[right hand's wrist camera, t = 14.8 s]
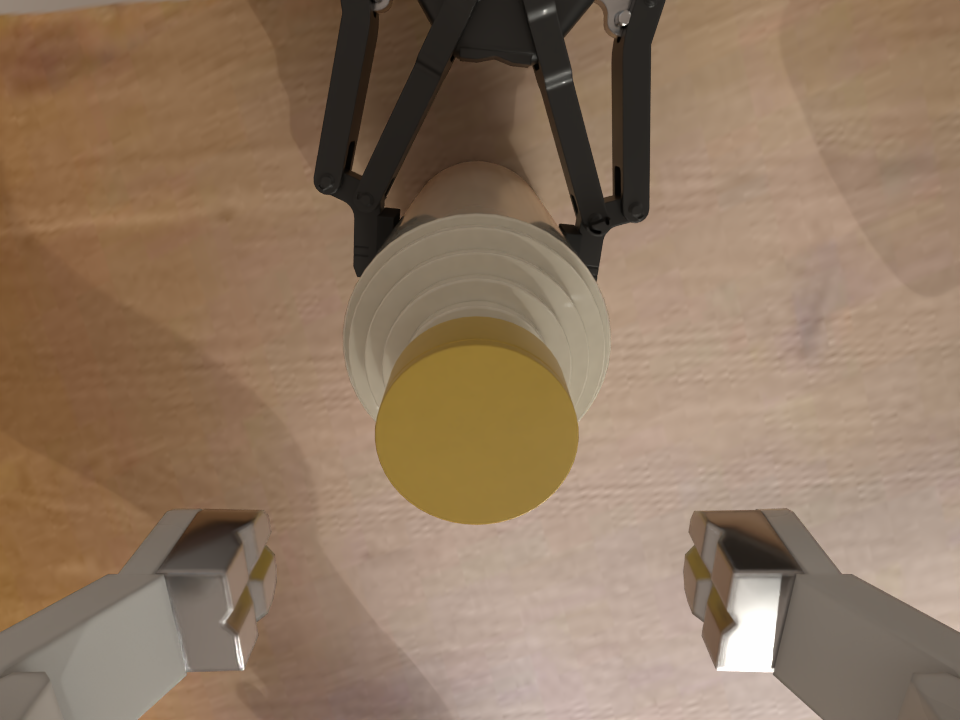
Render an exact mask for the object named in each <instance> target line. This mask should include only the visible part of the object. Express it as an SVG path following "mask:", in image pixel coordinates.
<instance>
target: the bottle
mask: <svg viewBox="0 0 960 720" xmlns="http://www.w3.org/2000/svg"><path fill="white" fill-rule="evenodd" d="M472 316H481V317H492V318H497V319H502V320H505V321H508V322H511V323H514V324H516V325H518V326H520V327H522V328H524V329H526V330H528V331H529V332H531V333H532V334H534V335H535V336H536V337H537V338H539V339H540V340H541V341H542V342H543V343H544V344H545V345H546V346H547V347H548V348H549V349H550V351H551V352H552V354H553V355H554V356H555V358H556V359H557V361H558V363H559V365H560V367H561V369H562V372H563V375H564V378H565V381H566V384H567V387H568V390H569V394H570V397H571V400H572V403H573V406H574V409H575V412H576V415H577V421H578V422H579V421H580V419H581V418H582V417H583V416H584V414H585V413H586V412H587V411H588V409H589V408H590V406H591V405H592V403H593V401H594V400H595V398H596V396H597V395H598V393H599V390H600V388H601V386H602V383H603V381H604V378H605V375H606V371H607V368H608V364H609V357H610V350H611V329H610V321H609V315H608V311H607V308H606V304H605V301H604V298H603V295H602V293H601V291H600V289H599V286H598V284H597V282H596V281H595V279H594V277H593V276H592V274H591V273H590V271H589V269H588V268H587V266H586V265H585V264H584V262H583V261H582V259H581V258H580V256H579V255H578V254H577V252H576V251H575V249H574V248H573V246H572V245H571V244H570V242H569V241H568V239H567V238H566V236H565V235H564V234H563V232H562V231H561V229H560V228H559V226H558V225H557V224H556V222H555V221H554V219H553V218H552V216H551V215H550V214H549V212H548V211H547V209H546V208H545V206H544V205H543V204H542V202H541V201H540V199H539V198H538V196H537V195H536V194H535V192H534V191H533V189H532V188H531V187H530V186H529V184H528V183H527V182H526V181H525V180H524V179H523V178H521V177H520V176H519V175H518V174H516V173H515V172H513V171H512V170H510V169H508V168H506V167H504V166H501V165H498V164H495V163H490V162H484V161H470V162H464V163H459V164H456V165H453V166H450V167H448V168H446V169H444V170H442V171H441V172H439V173H438V174H436V175H435V176H434V177H433V178H431V179H430V180H429V181H428V182H427V183H426V184H425V186H424V187H423V188H422V189H421V191H420V192H419V194H418V195H417V196H416V198H415V199H414V201H413V202H412V204H411V205H410V206H409V208H408V209H407V211H406V212H405V213H404V215H403V216H402V218H401V219H400V221H399V222H398V223H397V225H396V226H395V228H394V229H393V230H392V232H391V233H390V235H389V236H388V238H387V239H386V240H385V242H384V243H383V245H382V246H381V248H380V249H379V250H378V252H377V253H376V255H375V256H374V257H373V259H372V260H371V262H370V263H369V265H368V266H367V267H366V269H365V270H364V272H363V274H362V275H361V277H360V279H359V280H358V282H357V284H356V285H355V288H354V290H353V292H352V295H351V297H350V300H349V303H348V306H347V310H346V314H345V319H344V327H343V353H344V359H345V365H346V369H347V372H348V376H349V379H350V382H351V384H352V386H353V389H354V391H355V393H356V395H357V397H358V399H359V400H360V402H361V403H362V405H363V407H364V408H365V410H366V411H367V412H368V414H369V415H370V416H371V417H372V418H373V420H374V421H375V422H376V419H377V414H378V411H379V408H380V405H381V401H382V398H383V395H384V392H385V389H386V386H387V383H388V380H389V377H390V374H391V371H392V369H393V367H394V365H395V363H396V361H397V359H398V358H399V356H400V355H401V353H402V352H403V350H404V349H405V348H406V347H407V346H408V345H409V344H410V343H411V342H412V341H413V340H414V339H415V338H416V337H418V336H419V335H420V334H422V333H423V332H425V331H426V330H428V329H429V328H431V327H433V326H436V325H438V324H440V323H443V322H446V321H449V320H452V319H457V318H462V317H472Z"/></svg>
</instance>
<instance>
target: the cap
mask: <svg viewBox="0 0 960 720" xmlns="http://www.w3.org/2000/svg"><path fill="white" fill-rule="evenodd" d="M578 440H579V431H578V421H577V415H576V412H575V409H574V406H573V403H572V400H571V397H570V394H569V390H568V387H567V384H566V381H565V378H564V375H563V372H562V369H561V367H560V365H559V363H558V361H557V359H556V358H555V356H554V355H553V354H552V352H551V351H550V349H549V348H548V347H547V346H546V345H545V344H544V343H543V342H542V341H541V340H540V339H539V338H537V337H536V336H535V335H534V334H532V333H531V332H529V331H528V330H526V329H524V328H522V327H520V326H518V325H516V324H514V323H511V322H508V321H505V320H502V319H497V318H492V317H481V316H472V317H462V318H457V319H452V320H449V321H446V322H443V323H440V324H438V325H436V326H433V327H431V328H429V329H428V330H426V331H425V332H423V333H422V334H420V335H419V336H418V337H416V338H415V339H414V340H413V341H412V342H411V343H410V344H409V345H408V346H407V347H406V348H405V349H404V350H403V352H402V353H401V355H400V356H399V358H398V359H397V361H396V363H395V365H394V367H393V369H392V371H391V374H390V377H389V380H388V383H387V386H386V389H385V392H384V395H383V398H382V401H381V405H380V408H379V411H378V414H377V419H376V426H375V443H376V450H377V454H378V457H379V461H380V464H381V466H382V468H383V470H384V472H385V474H386V476H387V477H388V479H389V480H390V482H391V484H392V485H393V486H394V487H395V488H396V490H397V491H398V492H399V493H400V494H401V495H402V496H403V497H404V498H405V499H406V500H408V501H409V502H410V503H411V504H413V505H414V506H416V507H417V508H419V509H420V510H422V511H424V512H426V513H428V514H430V515H432V516H435V517H437V518H440V519H443V520H447V521H450V522H455V523H461V524H472V525H482V524H493V523H499V522H504V521H507V520H510V519H514V518H516V517H519V516H521V515H524V514H526V513H528V512H530V511H531V510H533V509H535V508H537V507H538V506H539V505H541V504H542V503H543V502H545V501H546V500H547V499H548V498H549V497H550V496H552V495H553V494H554V493H555V492H556V490H557V489H558V488H559V487H560V486H561V484H562V483H563V482H564V480H565V478H566V477H567V475H568V473H569V472H570V469H571V467H572V465H573V463H574V460H575V456H576V452H577V447H578Z"/></svg>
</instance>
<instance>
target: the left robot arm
mask: <svg viewBox="0 0 960 720" xmlns="http://www.w3.org/2000/svg"><path fill="white" fill-rule="evenodd" d="M418 2H419V4H420V6H421V7H422V9H423V11H424V13H425V15H426V16H427V18H428V20H429V22H430V24H431V29H430V31H429V33H428V35H427V37H426V39H425V41H424V43H423V46H422V48H421V50H420V52H419V54H418V57H417V60H416V63H415V66H414V68H413V70H412V72H411V74H410V76H409V78H408V80H407V83H406V85H405V87H404V89H403V91H402V93H401V95H400V97H399V99H398V102H397V104H396V106H395V108H394V110H393V112H392V114H391V116H390V119H389V121H388V123H387V125H386V127H385V129H384V131H383V133H382V135H381V138H380V140H379V142H378V144H377V146H376V148H375V150H374V152H373V154H372V157H371V159H370V161H369V163H368V165H367V167H366V169H365V171H364V174H363V176H361V175H359V174H357V173H355V172H353V171H351V170H352V165H353V160H354V155H355V150H356V145H357V140H358V134H359V129H360V124H361V119H362V114H363V109H364V104H365V98H366V93H367V88H368V83H369V78H370V73H371V67H372V62H373V57H374V52H375V47H376V42H377V35H378V25H379V14H380V13H385V12H386V11H388V10H389V9H390V8H391V6H392V4H393V0H341V6H342V18H341V24H340V30H339V35H338V41H337V47H336V53H335V58H334V64H333V70H332V76H331V81H330V87H329V93H328V99H327V104H326V110H325V116H324V122H323V127H322V133H321V139H320V145H319V150H318V156H317V162H316V168H315V173H314V185H315V187H316V189H317V190H318V191H319V192H321V193H323V194H326V195H332V196H334V197H336V198H338V199H340V200H343V201H344V202H346V203H347V204H348V205H349V206H350V207H351V208H352V210H353V213H354V269H355V272H356V274H357V277H361V275H362V274H363V272H364V270H365V269H366V267H367V266H368V265H369V263H370V262H371V260H372V259H373V257H374V256H375V255H376V253H377V252H378V250H379V249H380V248H381V246H382V245H383V243H384V242H385V240H386V239H387V238H388V236H389V235H390V233H391V232H392V230H393V229H394V228H395V226H396V225H397V223H398V222H399V221H400V209H395V208H384V202H385V199H386V198H387V197H386V196H387V194H388V192H389V190H390V188H391V186H392V184H393V182H394V180H395V178H396V176H397V174H398V172H399V170H400V168H401V166H402V164H403V162H404V160H405V158H406V156H407V154H408V151H409V149H410V147H411V145H412V143H413V141H414V139H415V137H416V135H417V133H418V131H419V129H420V127H421V125H422V123H423V121H424V119H425V117H426V115H427V113H428V111H429V109H430V107H431V105H432V103H433V101H434V99H435V97H436V95H437V92H438V90H439V88H440V86H441V84H442V82H443V80H444V79H445V77H446V75H447V74H448V72H449V70H450V68H451V66H452V63H453V61H454V59H455V57H456V58H458V59H460V61H466V62H476V63H477V62H482V61H488V60H493V59H495V60H498V61H500V62H503V63H505V64H507V65H510V66H516V67H526V68H528V67H529V66H533V69H534V73H535V76H536V80H537V83H538V86H539V88H540V91H541V94H542V97H543V101H544V105H545V108H546V112H547V115H548V119H549V122H550V126H551V130H552V133H553V137H554V140H555V144H556V148H557V151H558V155H559V158H560V162H561V165H562V169H563V173H564V176H565V180H566V183H567V187H568V190H569V194H570V198H571V201H572V205H573V208H574V212H575V215H576V224H575V225H569V224H559V228H560V229H561V231H562V232H563V234H564V235H565V236H566V238H567V239H568V241H569V242H570V244H571V245H572V246H573V248H574V249H575V251H576V252H577V254H578V255H579V256H580V258H581V259H582V261H583V262H584V264H585V265H586V266H587V268H588V269H589V271H590V273H591V274H592V276H593V277H594V279H595V281H597V275H598V268H599V263H600V257H601V251H602V244H603V239H604V236H605V235H606V233H607V232H608V231H609V230H610V229H611V228H613V227H615V226H618V225H622V224H626V223H630V222H631V223H638V222H641V221H643V220H644V219H645V218H646V217H647V215H648V212H649V184H650V90H651V43H652V40H653V37H654V34H655V31H656V28H657V25H658V22H659V19H660V16H661V13H662V10H663V7H664V4H665V0H418ZM593 2H594V3H596V4H598V5H599V6H600V7H601V9H602V11H603V14H604V24H603V25H604V30H605V31H606V33H607V34H608V35H609V36H611V37H613V38H614V43H613V49H612V163H613V196H609V197H605V198H603V194H602V190H601V187H600V183H599V179H598V175H597V171H596V167H595V164H594V160H593V156H592V152H591V148H590V144H589V141H588V137H587V133H586V129H585V125H584V121H583V118H582V114H581V110H580V106H579V102H578V99H577V95H576V91H575V87H574V83H573V78H572V69H571V65H570V61H569V57H568V53H567V49H566V46H565V42H564V37H565V36H566V35H567V34H568V32H569V31H570V30H571V29H572V28H573V26H574V25H575V24H576V23H577V22H578V20H579V19H580V18H581V17H582V16H583V14H584V13H585V12H586V11H587V9H588V8H589V7H590V6H591V5H592V3H593Z"/></svg>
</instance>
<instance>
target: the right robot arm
mask: <svg viewBox="0 0 960 720" xmlns="http://www.w3.org/2000/svg"><path fill="white" fill-rule="evenodd" d="M270 534H271V527H270V521H269V516H268V514H267V513H266V512H265V511H264V510H233V509H203V510H202V509H173V510H170V511H167V512H166V513H165V514H164V516H163V517H162V518H161V519H160V521H159V522H158V523H157V525H156V526H155V527H154V528H153V530H152V531H151V532H150V534H149V535H148V536H147V537H146V539H145V540H144V541H143V543H142V544H141V545H140V546H139V548H138V549H137V550H136V552H135V553H134V554H133V555H132V557H131V558H130V559H129V560H128V562H127V563H126V564H125V566H124V567H123V568H122V569H121V571H120V572H119V573H118V574H108V575H106V576H104V577H102V578H100V579H98V580H96V581H95V582H93V583H91V584H89V585H87V586H85V587H83V588H82V589H80V590H78V591H76V592H74V593H72V594H71V595H69V596H67V597H65V598H63V599H61V600H59V601H58V602H56V603H54V604H52V605H50V606H48V607H46V608H45V609H43V610H41V611H39V612H37V613H35V614H33V615H32V616H30V617H28V618H26V619H24V620H22V621H20V622H19V623H17V624H15V625H13V626H11V627H9V628H8V629H6V630H4V631H2V632H0V720H137V719H139V718H140V717H141V716H142V715H143V714H144V713H145V712H146V711H147V710H149V709H150V708H151V707H152V706H153V705H154V704H155V703H156V702H157V701H159V700H160V699H161V698H162V697H163V696H164V695H165V694H166V693H167V692H169V691H170V690H171V689H172V688H173V687H174V686H175V685H176V684H177V683H179V682H180V681H181V680H182V679H183V678H184V677H185V676H186V675H187V673H186V672H205V671H239V670H244V668H245V666H246V664H247V661H248V659H249V657H250V654H251V652H252V650H253V647H254V645H255V643H256V640H257V638H258V630H257V624H256V622H257V621H259V620H260V619H261V618H263V617H264V616H265V615H267V614H268V611H269V609H270V606H271V604H272V601H273V597H274V592H275V587H276V568H277V567H276V560H275V554H274V553H273V552H272V551H271V550H270V549H269V548H268V547H267V546H266V542H267V540H268V538H269V536H270ZM689 534H690V536H691V538H692V540H693V542H694V546H693V547H692V548H691V549H690V550H689V551H688V552H687V553H686V554H685V561H684V569H683V575H684V589H685V593H686V597H687V601H688V604H689V606H690V609H691V611H692V614H693V615H695V616H696V617H697V618H699V619H700V620H701V621H703V622H704V624H703V630H702V638H703V640H704V643H705V645H706V647H707V650H708V652H709V654H710V657H711V659H712V661H713V664H714V666H715V668H716V670H719V671H755V672H774V673H773V675H774V676H775V677H776V678H777V679H778V680H780V681H781V682H782V683H783V684H784V685H785V686H786V687H787V688H788V689H789V690H791V691H792V692H793V693H794V694H795V695H796V696H797V697H798V698H799V699H801V700H802V701H803V702H804V703H805V704H806V705H807V706H808V707H809V708H811V709H812V710H813V711H814V712H815V713H816V714H817V715H818V716H819V717H821V718H822V719H823V720H960V632H958V631H956V630H954V629H952V628H950V627H948V626H947V625H945V624H943V623H941V622H939V621H937V620H936V619H934V618H932V617H930V616H928V615H926V614H924V613H923V612H921V611H919V610H917V609H915V608H913V607H912V606H910V605H908V604H906V603H904V602H902V601H900V600H899V599H897V598H895V597H893V596H891V595H889V594H888V593H886V592H884V591H882V590H880V589H878V588H876V587H875V586H873V585H871V584H869V583H867V582H865V581H864V580H862V579H860V578H858V577H856V576H854V575H852V574H842V573H841V572H840V571H839V570H838V568H837V567H836V566H835V564H834V563H833V562H832V561H831V559H830V558H829V557H828V555H827V554H826V553H825V552H824V550H823V549H822V548H821V547H820V545H819V544H818V543H817V541H816V540H815V539H814V538H813V536H812V535H811V534H810V532H809V531H808V530H807V529H806V527H805V526H804V525H803V524H802V522H801V521H800V520H799V518H798V517H797V516H796V515H795V513H794V512H793V511H791V510H789V509H787V508H782V509H756V510H725V511H694V512H693V515H692V517H691V520H690V526H689Z"/></svg>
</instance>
